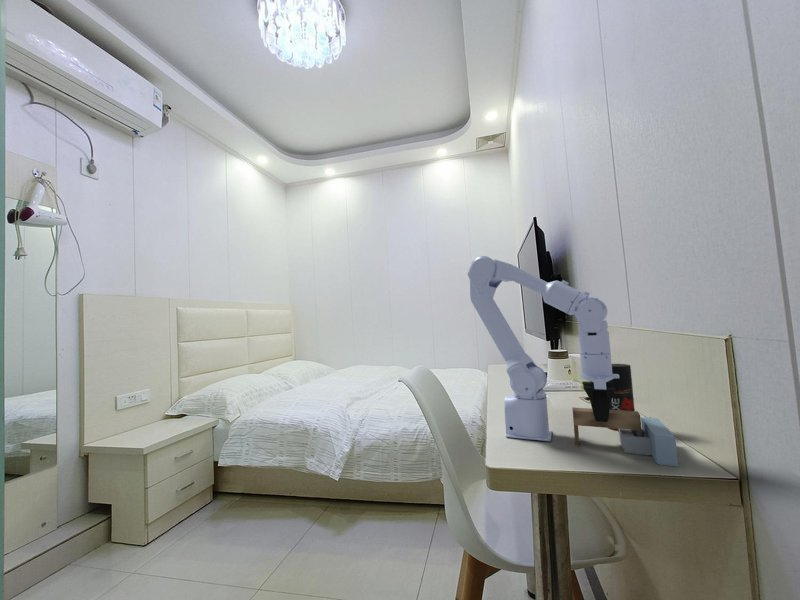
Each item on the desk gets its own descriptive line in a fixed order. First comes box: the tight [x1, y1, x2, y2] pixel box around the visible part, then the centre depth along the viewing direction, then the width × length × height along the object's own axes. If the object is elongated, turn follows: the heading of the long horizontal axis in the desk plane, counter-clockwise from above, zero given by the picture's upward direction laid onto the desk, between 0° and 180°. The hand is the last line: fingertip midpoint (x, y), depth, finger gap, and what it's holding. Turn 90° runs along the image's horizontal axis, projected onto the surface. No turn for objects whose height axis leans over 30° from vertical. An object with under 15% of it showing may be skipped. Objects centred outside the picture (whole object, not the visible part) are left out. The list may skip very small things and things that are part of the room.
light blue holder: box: [618, 416, 680, 467], centre depth 67 cm, size 7×13×5 cm, turn 154°
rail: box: [572, 407, 642, 446], centre depth 71 cm, size 12×3×7 cm, turn 64°
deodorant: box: [608, 363, 635, 432], centre depth 82 cm, size 6×6×15 cm
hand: (600, 418), depth 72 cm, fingers open, 4 cm apart
